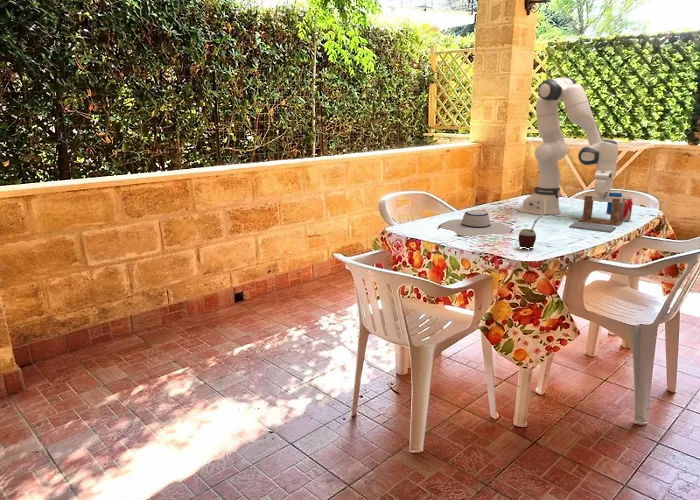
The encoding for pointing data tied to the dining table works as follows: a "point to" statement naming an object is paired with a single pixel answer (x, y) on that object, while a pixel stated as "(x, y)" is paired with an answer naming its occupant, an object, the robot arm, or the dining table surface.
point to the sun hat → (475, 225)
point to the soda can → (625, 209)
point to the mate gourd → (527, 237)
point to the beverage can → (609, 206)
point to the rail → (605, 198)
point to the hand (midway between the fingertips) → (602, 200)
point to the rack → (588, 218)
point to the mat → (592, 227)
